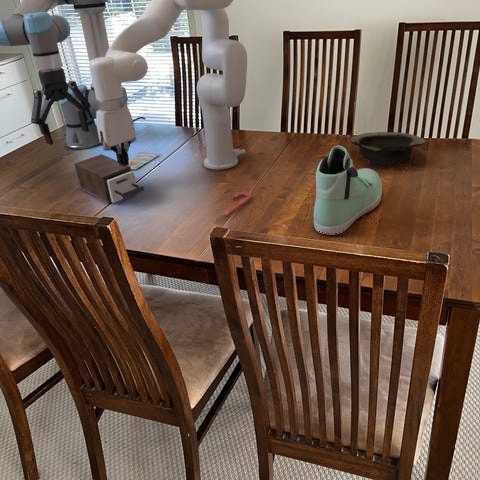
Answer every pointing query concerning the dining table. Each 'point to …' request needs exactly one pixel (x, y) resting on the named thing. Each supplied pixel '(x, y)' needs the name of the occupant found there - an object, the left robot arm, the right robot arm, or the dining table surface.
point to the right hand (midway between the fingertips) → (124, 164)
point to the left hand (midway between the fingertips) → (68, 137)
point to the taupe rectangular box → (98, 175)
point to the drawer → (122, 186)
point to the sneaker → (343, 192)
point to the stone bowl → (386, 147)
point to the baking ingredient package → (140, 160)
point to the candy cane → (237, 206)
